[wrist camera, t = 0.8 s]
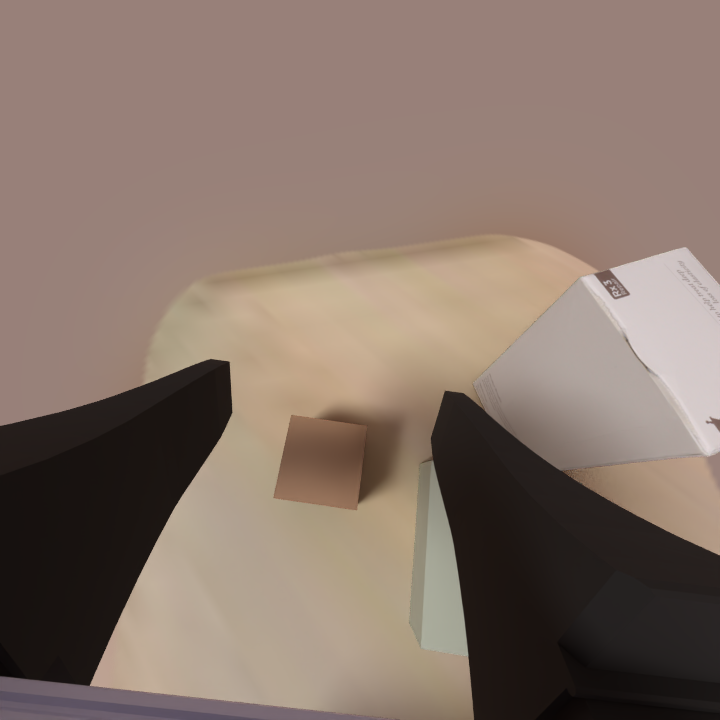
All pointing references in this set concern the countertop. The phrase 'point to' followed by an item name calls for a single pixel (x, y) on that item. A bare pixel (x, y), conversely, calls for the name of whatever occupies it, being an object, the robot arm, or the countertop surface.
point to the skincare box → (616, 368)
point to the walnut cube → (322, 462)
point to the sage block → (435, 574)
